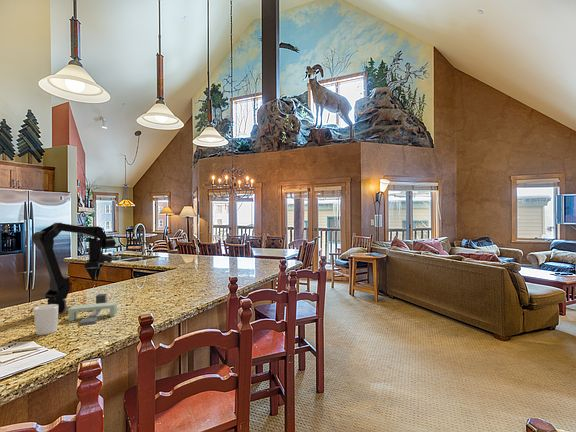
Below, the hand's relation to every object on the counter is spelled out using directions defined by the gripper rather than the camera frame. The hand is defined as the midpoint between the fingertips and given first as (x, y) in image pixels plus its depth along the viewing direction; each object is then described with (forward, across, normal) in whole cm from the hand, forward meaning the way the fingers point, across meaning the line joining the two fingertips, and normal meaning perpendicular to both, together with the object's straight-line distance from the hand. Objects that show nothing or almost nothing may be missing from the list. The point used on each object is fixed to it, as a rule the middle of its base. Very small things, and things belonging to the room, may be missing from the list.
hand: (95, 278), depth 176 cm
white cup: (+12, -46, +8) cm, 48 cm away
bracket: (+12, -30, -5) cm, 33 cm away
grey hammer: (+12, -22, -5) cm, 25 cm away
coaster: (+12, -38, -5) cm, 41 cm away
